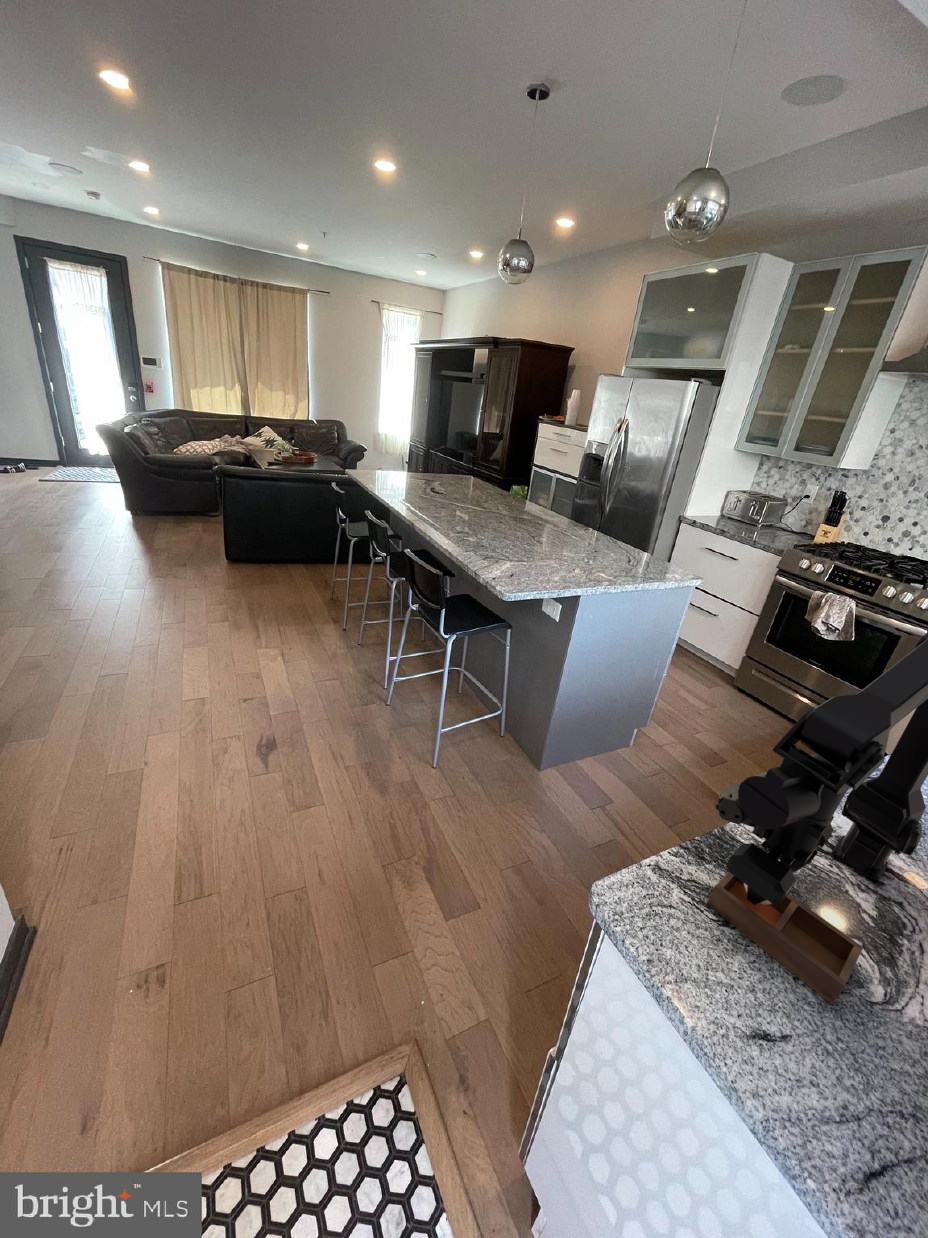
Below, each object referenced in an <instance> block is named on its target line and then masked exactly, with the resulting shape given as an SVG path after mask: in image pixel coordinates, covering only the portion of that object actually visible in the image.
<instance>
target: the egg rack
mask: <svg viewBox="0 0 928 1238" xmlns="http://www.w3.org/2000/svg"><path fill="white" fill-rule="evenodd" d="M706 905H707V906H709V908H711V909H712V910H714V911H715V912H716V913H717V914H718V915H720V916H721V917H722V918H723V919H725V920H726V921H727V922H728V923H729V924H731V925H732V926H733V927H734V928H736V929H737V930H738V931H740V932H741V933H742V934H743V935H744V936H746V937H747V938H748V939H749V940H751V941H752V942H753V943H754V944H755V945H757V946H758V947H759V948H760V949H761V950H763V951H765V953H767V954H768V955H769V956H771V957H772V958H773V959H774V960H775V961H777V962H778V963H780V965H782V967H784V968H785V969H786V970H788V971H789V972H790V973H792V975H794V976H795V977H796V978H797V979H799V980H800V981H801V982H802V983H804V984H805V985H806V986H807V987H809V988H810V989H811V990H813V992H815V993H816V994H817V995H818V996H820V997H821V998H822V999H823V1000H824V1001H826V1002H827V1003H829V1004H830V1005H833V1003H834V1002H835V1001H836V1000H837V998H838V997H839V995H840V994H841V992H842V991H843V989H844V988H845V986H846V985H847V982H848V980H849V978H850V976H851V974H852V972H853V970H854V968H855V966H856V964H857V962H858V960H859V957H860V956H861V954H862V951H863V949H864V947H863V946H862V945H861V944H860V943H858V942H857V941H855V940H854V939H853V938H851V937H850V936H848V935H847V934H846V933H844V932H843V931H841V930H840V929H839V928H837V927H836V926H834V925H833V924H831V923H830V922H829V921H828V920H825V919H824V918H823V917H822V916H821V915H819V914H818V913H816V912H814V911H813V910H812V909H811V908H810V907H807V906H806V905H805V904H804V903H802V902H800V901H799V900H798V899H796V898H795V897H793V896H792V895H790V894H789V893H788V894H787V895H786V897H785V898H784V899H783V900H782V902H781V903H780V904H779V905H777V904H767V905H763V904H757V905H754V904H752V903H751V902H750V901H748V900H747V892H746V890H745V886H744V883H743V882H742V881H741V880H739V879H738V878H737V877H735V876H734V875H733V874H731V873H730V872H729V871H728V872H727V873H726V874H725V875H724V876H723V877H722V878H721V879H720V880H719V881H718V882H717V883H716V884H715V885H714V888H713V889H712V892H711V894H710V896H709V897H708V900H707V902H706Z"/></svg>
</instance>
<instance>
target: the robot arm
mask: <svg viewBox="0 0 928 1238" xmlns="http://www.w3.org/2000/svg"><path fill="white" fill-rule="evenodd" d="M912 712H913V713H912ZM911 713H912V715H911V717H910V719H909V720H908V723H907V724H906V726H905V728H904V730H903V732H902V734H901V735H900V737H899V739H898V741H897V743H896V744H895V746H894V748H893V750H892V752H891V754H890V756H889V757H888V760H887V761H886V763H885V765H884V766H883V768H882V771H881V772H880V774H879V775H877V776H874V777H873V778H870V779H868V778H869V777H871V776H872V774H874V773H875V772H876V771H877V770H878V769H879V768H880V767H881V766H882V765H883V764H884V762H885V754H886V751H887V747H888V742H889V737H890V731H891V730H892V729H893V728H894V727H895V726H896V725H898V724H899V723H900V722H901V721H902V720H904V718H906V717H907V716H908V715H910V714H911ZM798 742H800V744H801V745H802V746H804V747H805V748H807V749H808V750H810V751H812V752H813V753H815V754H809V753H808V752H807V751H805V750H803V749H801V748H800V747H798V746H797V745H796V744H798ZM772 752H773V753H775V754H777V755H778V756H779V757H781V758H782V759H783V760H782V762H781V764H780V765H779V766H776V767H775V766H774V767H771V768H769V769H768V770H767V771H765V772H762V773H758V774H755V775H751V776H750V777H746V778H745V779H744V780H742V781H741V782H740V784H738V783H731V784H730V785H728V786H727V787H726V788H724V789H723V790H722V791H721V792H720V793H719V797H717V801H718V802H717V803H716V804H715V805H714V808H715V810H716V811H718V816H719V817H720V818H721V819H722V820H724V821H726V822H728V823H729V822H730V823H733V824H735V825H745V826H748V827H753V829H752V832H751V834H753V835H755V836H756V837H758V838H759V839H761V840H763V839H764V840H763V842H762V843H760V846H758V845H757V844H755V843H753V842H750V843H748V842H746V843H742V844H741V845H740V846H739V847H738V848H736V850H735V851H734V852H733V853H732V854H731V855H730V857H729V859H728V862H727V864H726V865H725V866H726V869H727V871H728V872H730V873H731V874H733V875H734V876H735V877H737V878H738V879H739V880H741V881H742V882H743V883H745V884H746V885H748V889H747V900H748V901H750V902H751V903H752V904H754V905H757V904H759V903H761V902H763V901H766V900H768V901H769V902H771V903H772V904H777V905H779V904H780V903H781V902H782V900H783V899H784V898H785V897H786V895H787V894H789V892H790V891H791V889H792V888H793V887H794V885H795V883H796V880H797V879H796V877H795V875H794V873H796V872H797V871H799V870H800V869H802V868H804V867H805V866H807V865H809V864H810V863H811V862H813V860H814V859H815V857H817V855H818V853H819V852H818V850H817V848H818V847H819V848H821V849H823V847H824V846H825V845H826V844H827V842H828V841H829V839H830V838H831V836H832V834H833V833H834V828H833V826H832V822H833V820H834V818H835V816H834V815H835V813H836V811H837V809H838V808H839V806H840V804H841V803H842V801H843V799H844V797H845V795H846V793H847V792H848V791H849V790H850V789H852V790H851V791H850V792H849V793H848V795H847V796H846V799H845V802H844V805H843V808H842V811H841V813H840V815H841V816H843V817H844V818H846V819H847V820H849V821H851V822H852V824H851V825H850V827H849V829H848V830H847V832H846V833H845V835H841V838H840V839H839V840H838V842H837V843H836V844H835V846H834V847H833V848H832V850H831V852H830V854H832V856H833V857H836V858H837V859H839V860H840V861H842V862H844V863H845V864H847V865H848V866H850V867H851V868H853V869H855V870H856V871H858V872H859V873H861V874H862V875H864V876H865V877H868V878H869V879H871V880H872V881H874V882H876V883H879V882H880V881H881V878H882V876H883V875H884V872H885V871H886V869H887V867H888V865H889V862H888V860H889V859H890V857H891V855H892V853H893V852H894V853H895V854H897V856H899V855H902V854H904V855H907V856H912V855H913V854H914V853H915V851H916V849H917V848H918V846H919V843H920V840H921V839H922V837H923V828H922V827H923V824H922V822H920V820H921V818H922V817H923V816H924V815H923V814H924V813H925V811H926V803H925V799H924V796H923V793H922V790H921V789H922V786H923V785H924V783H925V781H926V779H927V778H928V632H926V633H925V634H923V635H922V636H921V638H920V639H919V641H918V642H917V643H916V645H915V647H914V649H912V650H911V651H910V652H908V653H907V654H906V655H905V656H903V657H902V658H901V659H899V660H898V661H897V662H896V663H895V664H893V665H892V666H891V667H889V668H888V669H886V670H885V671H884V672H883V673H882V674H880V675H879V676H878V677H877V678H875V679H874V680H873V681H871V682H870V683H869V684H868V685H867V686H865V687H864V688H862V689H861V690H860V691H858V692H857V693H853V694H845V695H844V694H843V695H835V696H832V697H830V698H829V699H827V700H825V701H824V702H822V703H820V704H819V705H818V706H816V707H811V708H809V709H808V710H807V711H806V712H805V713H804V714H803V715H802V716H801V717H800V718H799V719H798V720H797V721H796V722H795V724H794V725H793V726H792V727H791V728H790V729H789V730H788V731H787V732H786V734H784V736H783V737H782V738H781V739H780V740H779V741H778V742H777V743H776V744H775V745H774V747H773V749H772ZM779 859H780V861H779Z"/></svg>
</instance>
